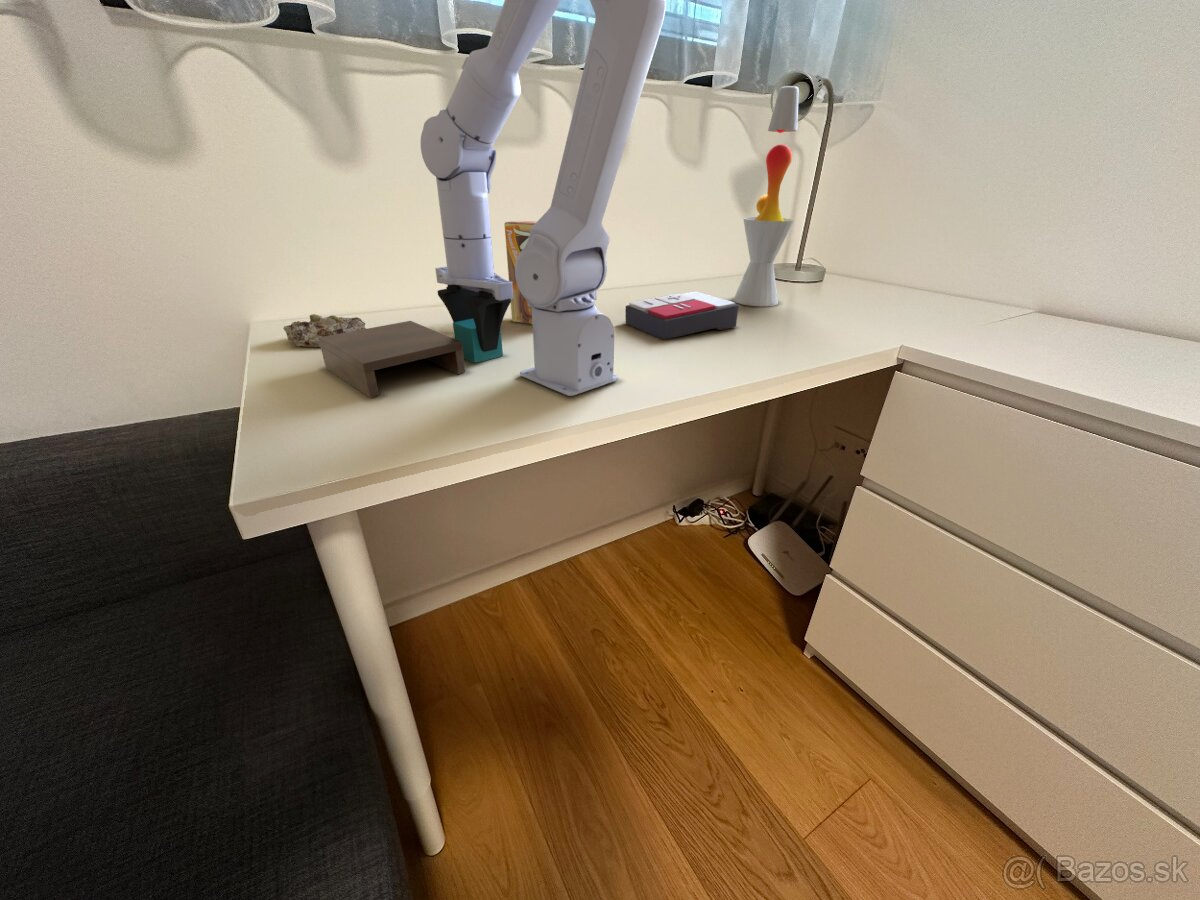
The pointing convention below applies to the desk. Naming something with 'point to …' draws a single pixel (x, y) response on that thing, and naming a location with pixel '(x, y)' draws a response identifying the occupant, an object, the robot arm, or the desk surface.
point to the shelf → (387, 352)
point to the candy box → (515, 243)
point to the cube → (474, 342)
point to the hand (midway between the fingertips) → (478, 345)
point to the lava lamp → (769, 211)
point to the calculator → (681, 314)
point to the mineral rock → (320, 329)
